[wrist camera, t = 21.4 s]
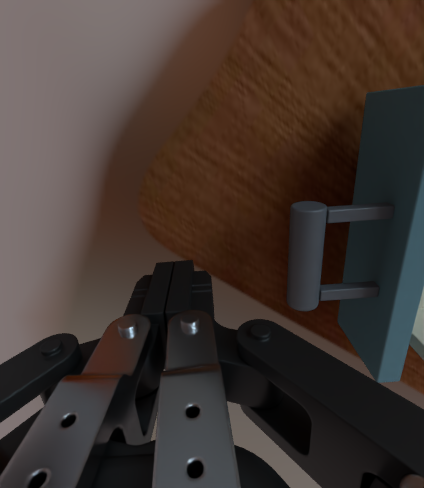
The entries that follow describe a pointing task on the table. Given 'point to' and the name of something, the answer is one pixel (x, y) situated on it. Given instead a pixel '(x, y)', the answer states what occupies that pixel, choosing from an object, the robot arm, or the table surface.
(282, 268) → the table surface
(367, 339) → the drawer
